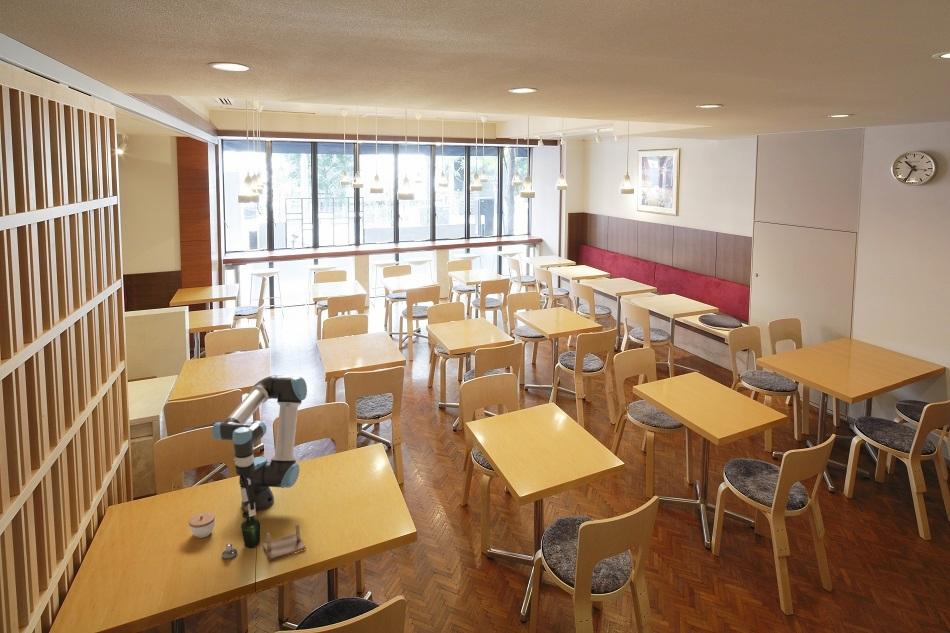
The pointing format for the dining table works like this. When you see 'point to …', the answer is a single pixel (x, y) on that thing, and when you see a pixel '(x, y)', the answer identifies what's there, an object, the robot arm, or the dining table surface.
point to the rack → (283, 545)
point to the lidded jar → (202, 524)
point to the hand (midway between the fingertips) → (248, 508)
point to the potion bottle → (250, 530)
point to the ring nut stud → (229, 552)
